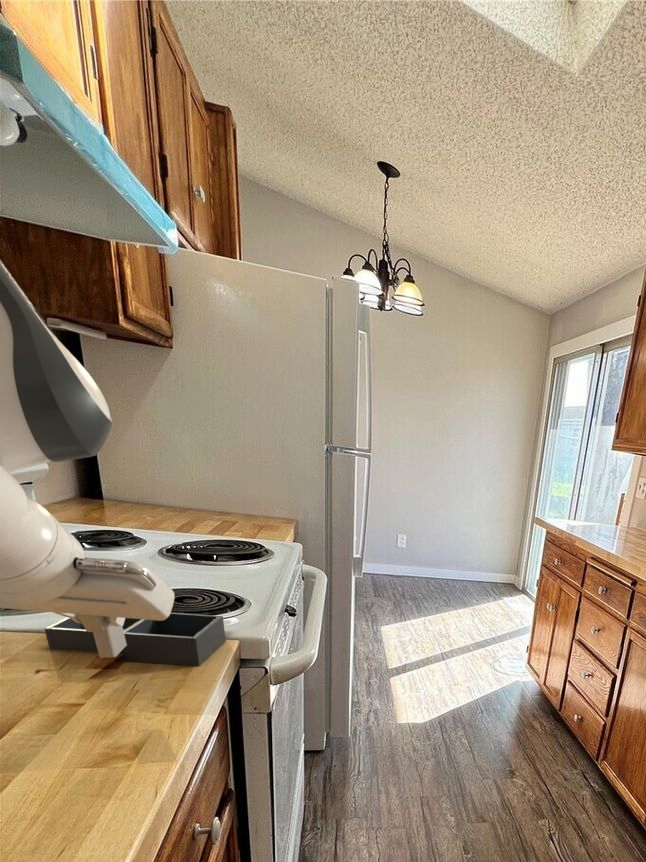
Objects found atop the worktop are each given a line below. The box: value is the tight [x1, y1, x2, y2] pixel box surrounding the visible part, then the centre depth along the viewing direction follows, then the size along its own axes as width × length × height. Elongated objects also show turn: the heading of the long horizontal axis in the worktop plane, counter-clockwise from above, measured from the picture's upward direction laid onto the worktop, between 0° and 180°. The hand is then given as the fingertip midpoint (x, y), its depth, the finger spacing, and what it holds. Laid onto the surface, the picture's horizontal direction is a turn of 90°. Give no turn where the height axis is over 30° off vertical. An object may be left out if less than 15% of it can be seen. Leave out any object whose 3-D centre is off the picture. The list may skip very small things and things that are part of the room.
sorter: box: [44, 611, 227, 667], centre depth 79 cm, size 19×10×4 cm, turn 95°
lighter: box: [77, 614, 127, 659], centre depth 66 cm, size 7×2×8 cm, turn 15°
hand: (102, 619), depth 66 cm, fingers closed on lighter, 2 cm apart
